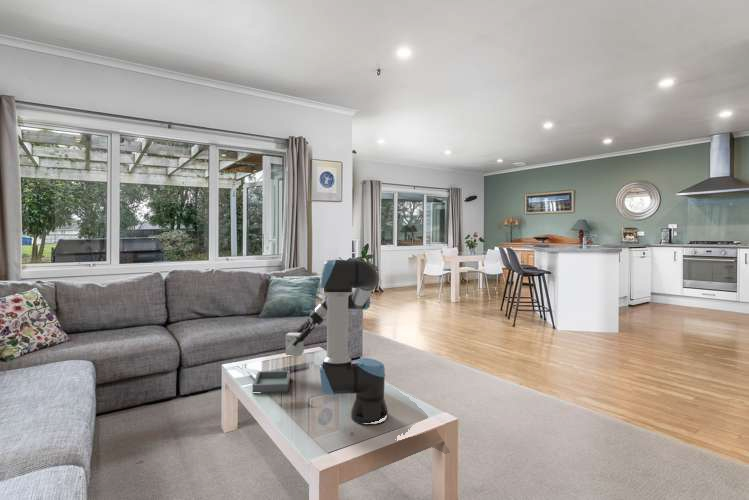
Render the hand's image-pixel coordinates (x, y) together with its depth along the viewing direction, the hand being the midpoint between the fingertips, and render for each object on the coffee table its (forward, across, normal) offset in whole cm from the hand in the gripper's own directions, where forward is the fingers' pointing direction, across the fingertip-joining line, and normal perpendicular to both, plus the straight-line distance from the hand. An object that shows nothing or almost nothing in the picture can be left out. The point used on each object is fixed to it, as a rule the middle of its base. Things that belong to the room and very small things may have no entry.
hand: (288, 347), depth 202 cm
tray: (+17, -8, -6) cm, 20 cm away
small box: (0, 0, -5) cm, 5 cm away
